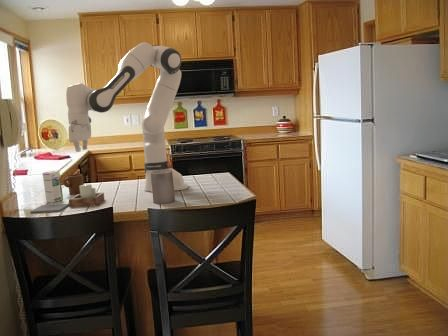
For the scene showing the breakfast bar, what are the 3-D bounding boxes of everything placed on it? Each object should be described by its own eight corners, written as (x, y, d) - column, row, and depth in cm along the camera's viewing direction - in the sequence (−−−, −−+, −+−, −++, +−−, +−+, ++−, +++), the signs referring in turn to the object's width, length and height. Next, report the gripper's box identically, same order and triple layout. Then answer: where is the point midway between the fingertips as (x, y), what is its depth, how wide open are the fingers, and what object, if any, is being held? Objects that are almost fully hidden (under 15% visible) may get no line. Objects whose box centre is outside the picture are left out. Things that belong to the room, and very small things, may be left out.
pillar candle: (162, 198, 228) (158, 166, 226) (179, 199, 223) (176, 166, 221) (148, 203, 220) (145, 170, 218) (166, 204, 215) (163, 170, 213)
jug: (98, 201, 231) (96, 183, 230) (94, 204, 226) (92, 185, 225) (83, 202, 232) (81, 184, 230) (79, 205, 226) (77, 186, 225)
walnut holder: (104, 199, 235) (103, 192, 234) (96, 205, 222) (95, 197, 222) (78, 201, 235) (77, 194, 235) (69, 207, 223) (68, 199, 222)
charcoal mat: (69, 205, 227) (69, 203, 227) (60, 211, 215) (59, 209, 215) (41, 207, 227) (41, 205, 227) (30, 213, 215) (30, 211, 215)
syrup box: (53, 202, 236) (50, 172, 234) (45, 201, 239) (42, 172, 237) (63, 200, 241) (60, 170, 239) (55, 199, 244) (51, 170, 242)
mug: (71, 196, 249) (68, 178, 247) (59, 196, 252) (57, 177, 251) (87, 191, 259) (85, 174, 258) (76, 191, 263) (74, 173, 261)
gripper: (77, 120, 213) (81, 152, 215) (92, 118, 233) (95, 147, 235) (63, 121, 213) (66, 153, 215) (79, 119, 233) (82, 148, 235)
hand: (81, 150), depth 225 cm, fingers open, 8 cm apart
